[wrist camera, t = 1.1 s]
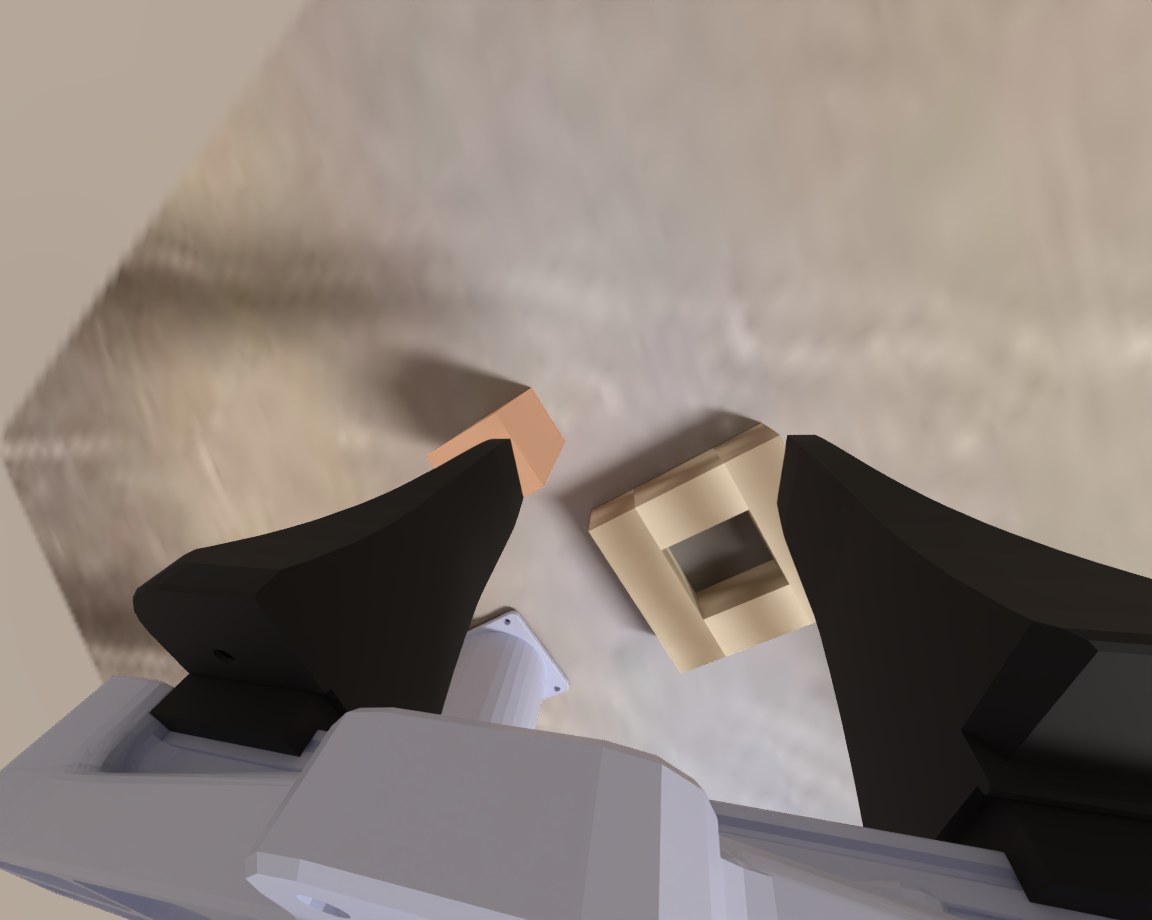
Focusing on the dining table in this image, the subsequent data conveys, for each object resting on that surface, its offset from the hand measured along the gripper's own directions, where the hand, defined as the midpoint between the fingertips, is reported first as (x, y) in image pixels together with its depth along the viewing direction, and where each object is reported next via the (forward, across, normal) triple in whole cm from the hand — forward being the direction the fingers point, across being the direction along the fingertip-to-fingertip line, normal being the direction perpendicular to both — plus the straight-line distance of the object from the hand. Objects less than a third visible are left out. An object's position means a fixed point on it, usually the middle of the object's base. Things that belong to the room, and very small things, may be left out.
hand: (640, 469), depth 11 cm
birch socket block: (+13, -4, +14) cm, 19 cm away
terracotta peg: (+13, +9, +5) cm, 17 cm away
